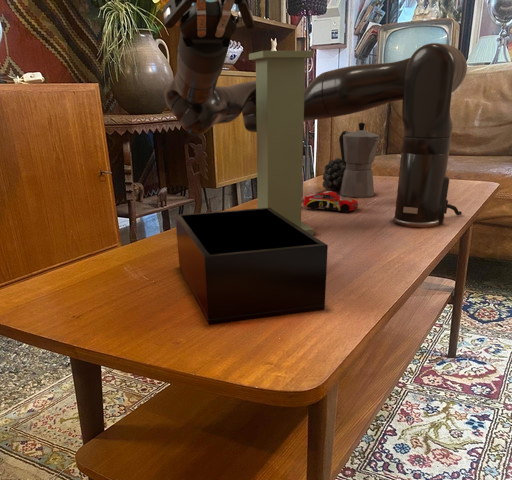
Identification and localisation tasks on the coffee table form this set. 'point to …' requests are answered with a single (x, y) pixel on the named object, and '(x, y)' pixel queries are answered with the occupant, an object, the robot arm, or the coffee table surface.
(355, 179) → the coffeepot
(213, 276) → the open black box
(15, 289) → the coffee table surface
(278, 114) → the post
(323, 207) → the race car
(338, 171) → the fruit
